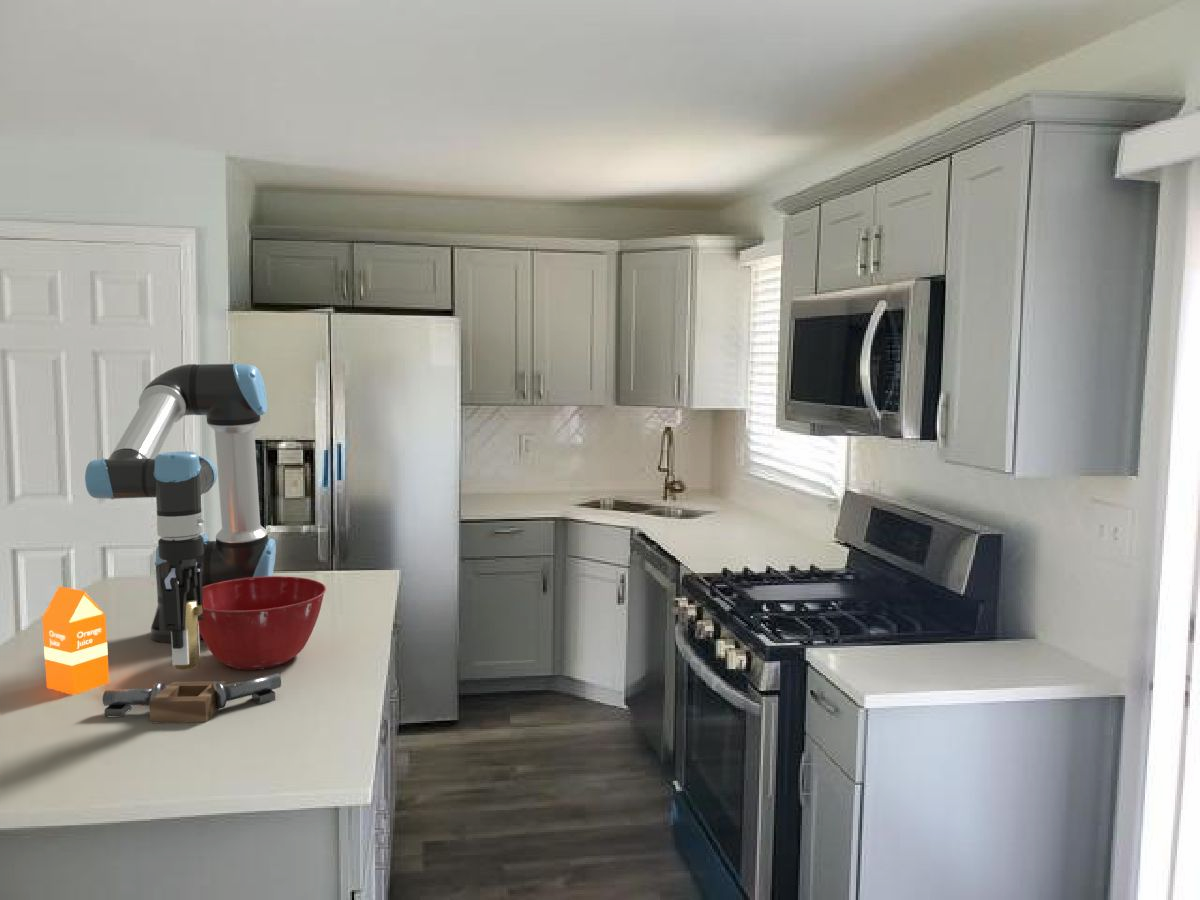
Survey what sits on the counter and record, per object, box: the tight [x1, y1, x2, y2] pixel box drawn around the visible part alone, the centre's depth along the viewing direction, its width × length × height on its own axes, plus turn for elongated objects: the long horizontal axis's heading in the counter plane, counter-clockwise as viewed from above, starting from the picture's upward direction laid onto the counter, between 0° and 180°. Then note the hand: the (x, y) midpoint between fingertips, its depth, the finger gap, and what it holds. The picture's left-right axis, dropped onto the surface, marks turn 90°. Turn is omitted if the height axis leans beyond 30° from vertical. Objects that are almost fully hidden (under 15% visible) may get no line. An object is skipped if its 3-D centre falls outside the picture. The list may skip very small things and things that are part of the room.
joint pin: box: [173, 600, 202, 670], centre depth 169 cm, size 4×6×12 cm
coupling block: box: [148, 680, 226, 724], centre depth 171 cm, size 10×10×4 cm
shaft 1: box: [102, 682, 167, 718], centre depth 170 cm, size 10×5×6 cm, turn 93°
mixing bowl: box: [198, 575, 327, 671], centre depth 199 cm, size 28×28×16 cm
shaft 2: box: [211, 672, 282, 710], centre depth 175 cm, size 12×5×6 cm, turn 133°
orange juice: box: [41, 586, 110, 696], centre depth 183 cm, size 8×9×20 cm
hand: (186, 659), depth 170 cm, fingers closed on joint pin, 4 cm apart
